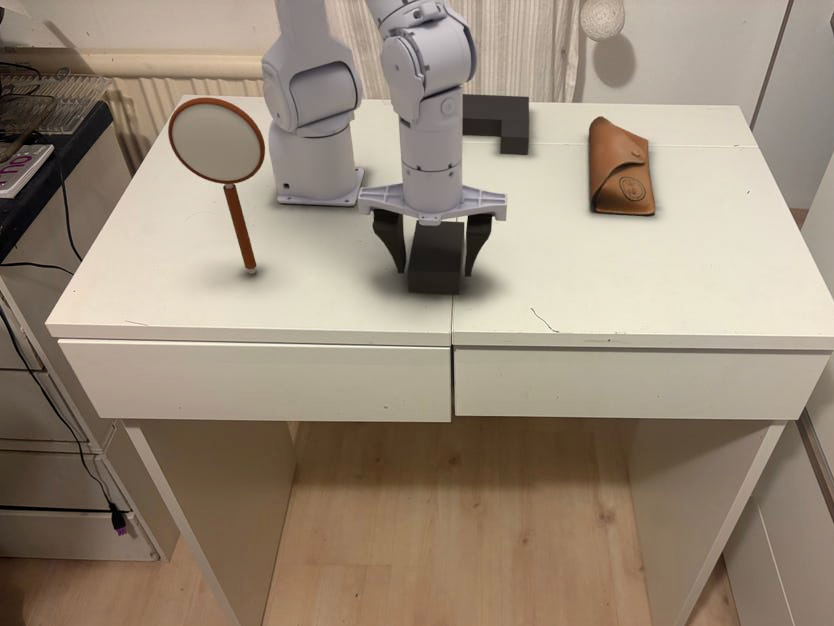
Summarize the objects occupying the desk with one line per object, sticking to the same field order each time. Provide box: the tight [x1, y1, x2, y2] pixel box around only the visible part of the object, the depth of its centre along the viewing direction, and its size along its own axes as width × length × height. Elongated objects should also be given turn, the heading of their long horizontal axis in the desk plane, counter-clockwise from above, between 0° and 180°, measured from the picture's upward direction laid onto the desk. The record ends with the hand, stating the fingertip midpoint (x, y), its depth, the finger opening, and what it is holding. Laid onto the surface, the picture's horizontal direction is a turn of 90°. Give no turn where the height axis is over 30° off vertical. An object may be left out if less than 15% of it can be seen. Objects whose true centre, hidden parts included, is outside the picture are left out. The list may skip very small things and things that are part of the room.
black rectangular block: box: [407, 219, 465, 296], centre depth 78 cm, size 5×9×3 cm, turn 177°
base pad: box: [462, 93, 530, 155], centre depth 99 cm, size 14×12×2 cm
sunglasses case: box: [588, 115, 656, 216], centre depth 91 cm, size 18×7×7 cm
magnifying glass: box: [167, 97, 266, 275], centre depth 70 cm, size 9×2×20 cm, turn 90°
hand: (435, 269), depth 76 cm, fingers open, 6 cm apart
